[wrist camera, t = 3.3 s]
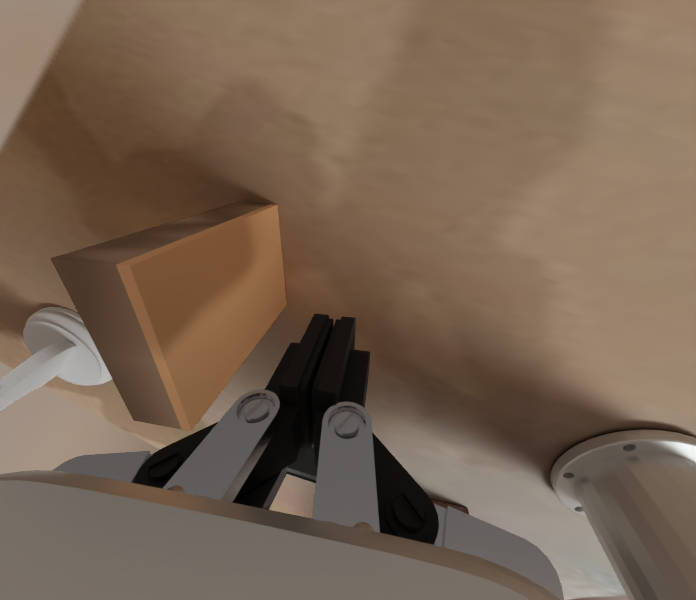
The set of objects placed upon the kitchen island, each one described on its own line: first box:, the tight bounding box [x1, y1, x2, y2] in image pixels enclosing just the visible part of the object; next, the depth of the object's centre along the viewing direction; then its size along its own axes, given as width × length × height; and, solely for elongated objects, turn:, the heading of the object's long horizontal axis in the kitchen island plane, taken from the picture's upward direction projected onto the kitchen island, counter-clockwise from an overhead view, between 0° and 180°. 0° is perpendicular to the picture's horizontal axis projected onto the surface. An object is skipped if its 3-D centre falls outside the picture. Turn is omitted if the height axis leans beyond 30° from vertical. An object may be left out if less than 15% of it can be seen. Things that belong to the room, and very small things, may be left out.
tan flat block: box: [51, 202, 287, 431], centre depth 16 cm, size 3×8×12 cm, turn 179°
